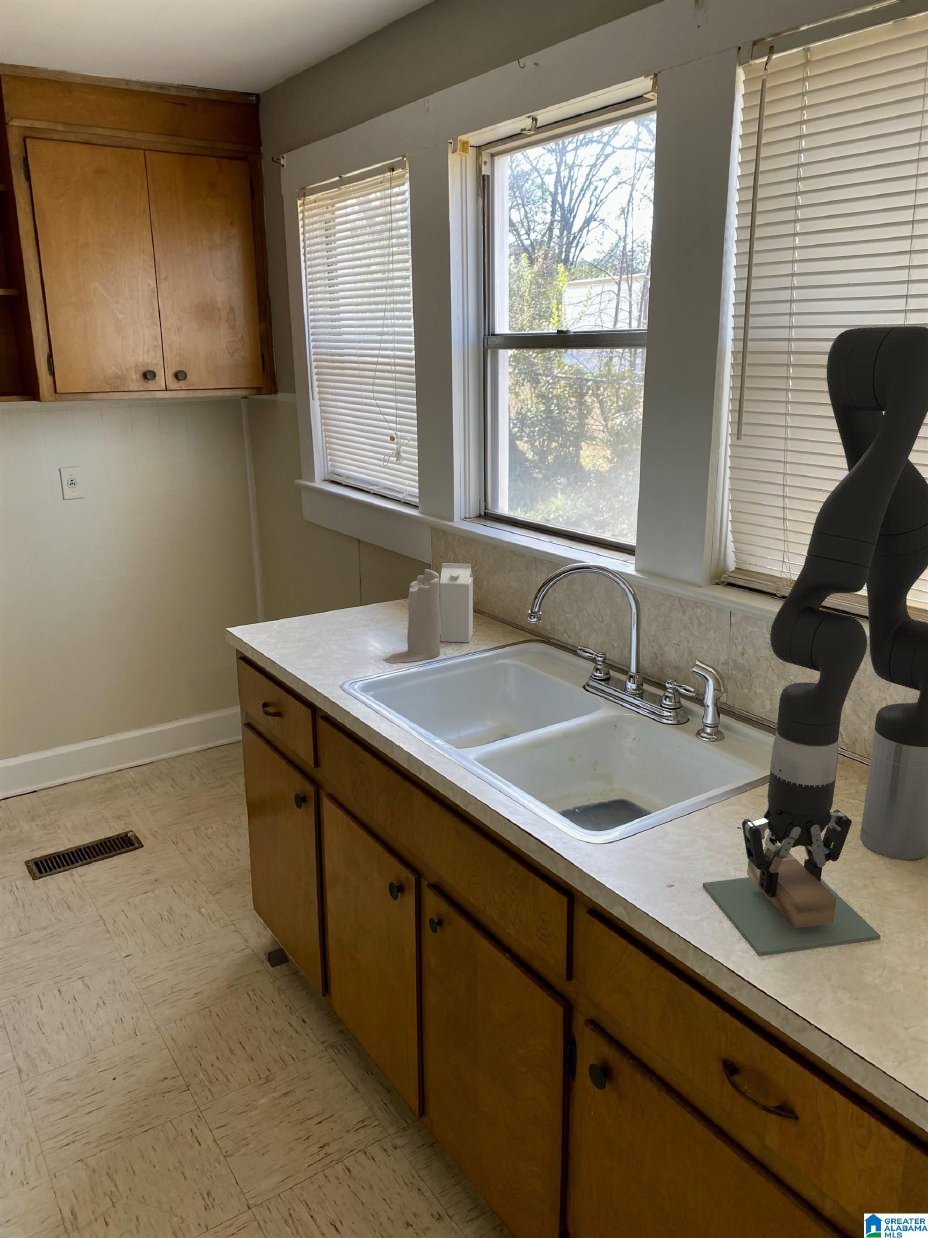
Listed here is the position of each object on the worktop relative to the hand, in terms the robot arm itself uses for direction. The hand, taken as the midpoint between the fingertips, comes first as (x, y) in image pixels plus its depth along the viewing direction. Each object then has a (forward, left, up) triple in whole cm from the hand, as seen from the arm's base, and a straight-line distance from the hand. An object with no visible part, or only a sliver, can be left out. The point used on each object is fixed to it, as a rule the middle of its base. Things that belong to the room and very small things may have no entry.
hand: (789, 891), depth 116 cm
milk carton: (+19, -122, -3) cm, 124 cm away
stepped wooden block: (0, 0, -1) cm, 1 cm away
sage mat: (0, 0, -3) cm, 3 cm away
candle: (+32, -110, -3) cm, 115 cm away
